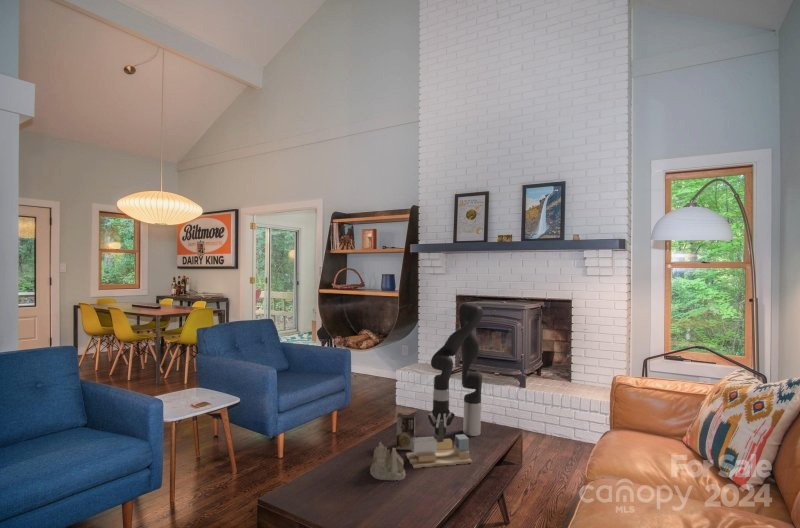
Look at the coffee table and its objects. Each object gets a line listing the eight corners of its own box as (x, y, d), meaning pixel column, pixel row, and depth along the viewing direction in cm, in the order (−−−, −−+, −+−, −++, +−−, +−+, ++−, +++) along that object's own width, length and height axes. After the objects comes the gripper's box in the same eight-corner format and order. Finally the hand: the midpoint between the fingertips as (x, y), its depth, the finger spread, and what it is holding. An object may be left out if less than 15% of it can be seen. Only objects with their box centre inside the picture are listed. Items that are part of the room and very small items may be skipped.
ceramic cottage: (403, 482, 189) (403, 445, 190) (365, 479, 192) (365, 443, 193) (409, 468, 204) (409, 434, 205) (374, 465, 207) (374, 432, 208)
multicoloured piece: (417, 448, 211) (418, 421, 211) (449, 445, 215) (450, 420, 215) (419, 451, 208) (420, 424, 208) (452, 448, 212) (452, 422, 212)
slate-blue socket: (453, 451, 218) (454, 433, 218) (463, 451, 219) (463, 433, 219) (459, 458, 210) (460, 440, 210) (469, 458, 211) (469, 439, 211)
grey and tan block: (409, 454, 214) (409, 436, 214) (431, 452, 216) (431, 434, 216) (415, 463, 204) (415, 444, 204) (437, 461, 207) (438, 442, 207)
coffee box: (415, 445, 228) (415, 413, 227) (414, 450, 221) (415, 417, 221) (397, 444, 228) (397, 412, 228) (395, 449, 222) (396, 416, 222)
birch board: (406, 455, 216) (406, 452, 216) (461, 450, 222) (461, 448, 222) (413, 468, 202) (413, 465, 202) (472, 463, 208) (472, 460, 208)
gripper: (452, 394, 217) (451, 430, 217) (424, 396, 214) (423, 432, 214) (457, 399, 210) (457, 436, 210) (429, 401, 207) (428, 438, 207)
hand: (440, 434), depth 212 cm, fingers closed on multicoloured piece, 2 cm apart
